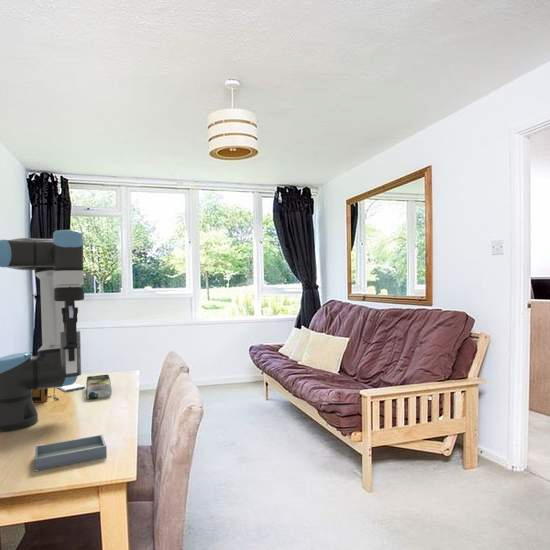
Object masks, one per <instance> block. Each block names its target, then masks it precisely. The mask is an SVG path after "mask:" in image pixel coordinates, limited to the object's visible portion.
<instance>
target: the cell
mask: <svg viewBox="0 0 550 550" xmlns="http://www.w3.org/2000/svg"><path fill="white" fill-rule="evenodd" d="M63 347H66V328H65V331H64V332H60V348H61V377H75V376H77V377H79V376H81V375H82V363H81V362H82V355H81V353H82V352H81V351H82V350H81V331H80V330H77V347H76V348H77V373H69V374H66V350H63Z"/></svg>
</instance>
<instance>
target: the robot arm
mask: <svg viewBox="0 0 550 550" xmlns="http://www.w3.org/2000/svg"><path fill="white" fill-rule="evenodd" d="M52 234H53V235H52V238H28V237H22V238H21V237H20V238H14V239H0V268H8V269H14V270H20V271H34V274H35V275H34V276H35V277H37V279H39V286H40V309H41V311H40V312H41V313H40V314H41V340H42V341H41V344H42V345H41V347H39V349H38V350H37V355H35V356H34V355H33V356H32V353H30V352H28V351H26V352H25V351H24V352H18V353H12V354H8V355H4V356H1V357H0V433H1V432H9V431H10V430H11V431H15V429H16V430H21V429H23V428H24V429H25V428H27V427H29V426H32V425H34V424H36V423H37V422H38V420H39V413H38V411H37V408H36V405H35V404H34V403H35V402H33V401H32V390H40V389H48V390H49V389H54V388H55V389H56V388H57V387H63V386H67V385H72V384H74V383H76V381H77V379H78V376H75V377H61V348H60V332H64V331H65V328H66V347H63V350H66V374H69V373H77V348H76V347H77V331H78V330H77V323H78V315H79V314H78V313H79V308H78V307H77V306H76V304H75V301H76V302H77V301H78V302H79V301H83V300H85V288H84V287H83V285H84V284H85V279H84V278H87V275H86V273H84V245H85V242H84V238H83V235H84V234H83V233H82V231H79V230H73V229H59V230H55V231H54V232H53V233H52ZM20 428H21V429H20ZM11 431H10V432H11Z"/></svg>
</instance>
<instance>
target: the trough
mask: <svg viewBox="0 0 550 550" xmlns="http://www.w3.org/2000/svg"><path fill="white" fill-rule="evenodd" d="M107 449H108V448H107V444H106V441H105V439H104V436H103V434H99V435H93V436H86V437H81V438H75V439H71V440H65V441H57V442H53V443H52V442H51V443H46V444H42V445H36V446H35V449H34V450H35V454H34V465H35V466H34V471H35V470H39V471H43V470H42V469H44V470H48V469H47V468H49V469H53V468H52V467H54V468H57V467H56V466H60V467H63V466H62V465H65V466H68V464H70V465H73V464H72V463H75V464H79V463H78V462H80V463H83V461H85V462H88V461H87V460H90V461H93V460H92V459H95V460H98V459H97V458H100V459H104V458H103V457H105V458H107V457H108V455H107Z"/></svg>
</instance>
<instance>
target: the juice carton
mask: <svg viewBox="0 0 550 550" xmlns="http://www.w3.org/2000/svg"><path fill="white" fill-rule="evenodd" d="M85 389H86V399H87V400H91V399H95V398H96V399H100V398H99V397H102V398H109V397H108V396H111V397H112V392H113V391H112V390H113V389H112V383H111V378H110V376H109V374H100V375H93V376H92V375H89V376H87V377H86V386H85Z"/></svg>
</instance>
